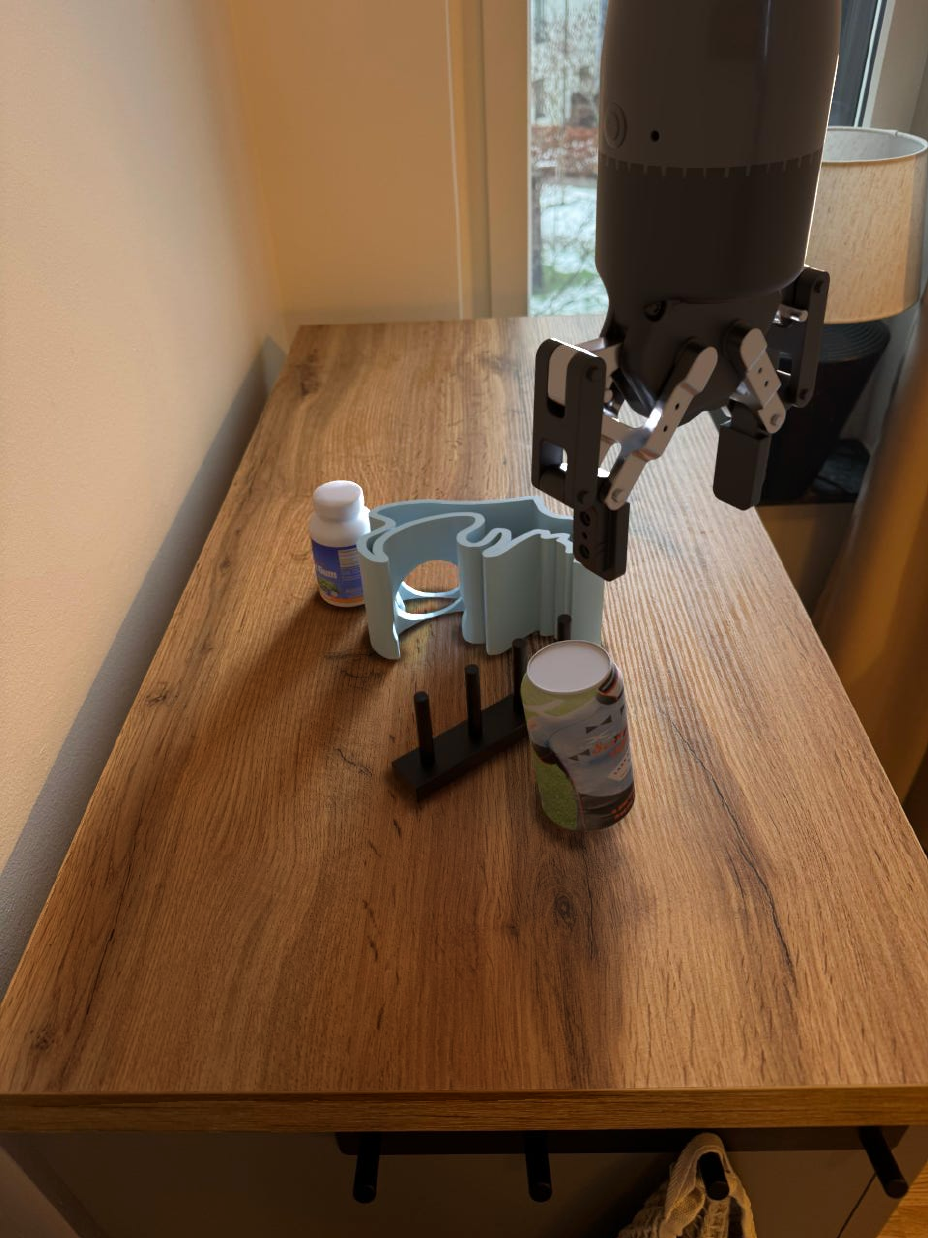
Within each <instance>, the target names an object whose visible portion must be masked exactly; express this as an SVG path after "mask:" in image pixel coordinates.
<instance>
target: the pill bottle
mask: <svg viewBox="0 0 928 1238" xmlns="http://www.w3.org/2000/svg"><path fill="white" fill-rule="evenodd" d="M312 503H313V510H314V512H313V513H312V514H311V516H310V518H309V519H308V525H307V528H308V534H309V540H310V546H311V553H312V556H313V564H314V571H315V575H316V576H315V577H316V581H317V586H318V591H319V594H320V597H321V598H322V599H323V601H325V602H326V603H328V604H329V605H332V606H335V607H340V608H353V607H359V606H361V605H365V600H364V594H363V587H362V580H361V573H360V566H359V560H358V553H357V546H356V543H357V541H358V539H359V538H360V537H361V536H363V535H365V534H367V533H369V532H370V524H369V517H368V512H369V511H370V510H371V509H369V508H368V507H367V506H365V499H364V494H363V489H362V487H361V486H360V485H358V483H355V482H353V481H350V480H333V481H328V482H325V483H323V484H321V485H319V486H317V488H316V489H315V490H314V491H313V493H312Z"/></svg>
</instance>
